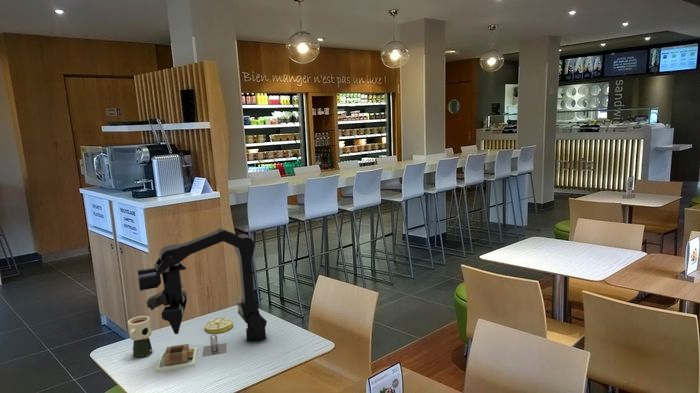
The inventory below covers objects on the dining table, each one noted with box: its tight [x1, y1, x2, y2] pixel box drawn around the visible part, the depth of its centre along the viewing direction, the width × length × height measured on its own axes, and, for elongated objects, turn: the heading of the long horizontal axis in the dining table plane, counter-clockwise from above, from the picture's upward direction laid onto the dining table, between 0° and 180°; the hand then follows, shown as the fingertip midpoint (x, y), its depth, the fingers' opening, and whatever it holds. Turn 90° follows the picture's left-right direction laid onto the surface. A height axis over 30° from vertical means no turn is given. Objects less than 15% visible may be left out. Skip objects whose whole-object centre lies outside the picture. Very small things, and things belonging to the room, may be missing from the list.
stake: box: [201, 334, 227, 358], centre depth 167 cm, size 8×8×6 cm
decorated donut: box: [203, 317, 234, 335], centre depth 185 cm, size 10×11×4 cm
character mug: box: [127, 315, 153, 357], centre depth 167 cm, size 11×7×13 cm, turn 174°
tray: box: [155, 346, 198, 373], centre depth 160 cm, size 12×12×2 cm
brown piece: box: [163, 343, 194, 367], centre depth 160 cm, size 7×8×4 cm
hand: (178, 328), depth 160 cm, fingers open, 9 cm apart
